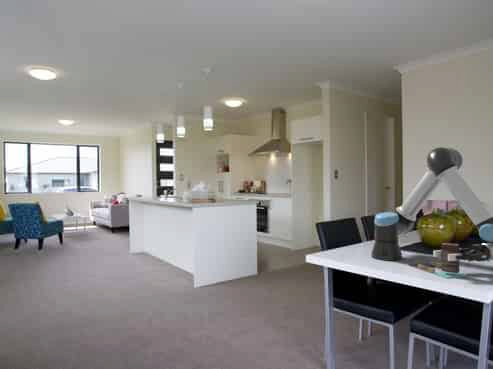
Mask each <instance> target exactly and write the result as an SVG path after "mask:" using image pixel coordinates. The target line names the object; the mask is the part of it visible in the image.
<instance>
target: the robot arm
mask: <svg viewBox="0 0 493 369" xmlns="http://www.w3.org/2000/svg"><path fill="white" fill-rule="evenodd" d="M463 161H464V158H463V155H462V154H461V152H459V151H458V150H457V149H454V148H453V147H452V148H451V147H444V146H440V147H435V148H434V149H431V151H429V153H428V154H427V157H426V163H427V165H426V172H425V173H424V175H423V176H422V178H421V179H420V180H419V181H418V183H417V185H416V186H415V187H414V188H413V190H412V191H411V193H410V194H409V195H408V197H406V199H405V200H404V202H403V203H402V204H401V206H397V207H395V209H394V210H393V212H389V211H388V212H387V211H386V212H380V213H377V214H375V216H374V221H373V222H374V243H373V247H372V249H371V258H373V259H376V260H381V261H401V260H402V259H403V252H402V250H401V247H400V245H399V236H401V235H406V234H408V233H409V232H411V231H412V230H413V228H414V224H415V222H416V221H417V217H416V216H417V214H418V213H419V212H420V210H422V208H423V206H424V205H425V204H426V203H427V201H428V200H429V199H430V198H431V197H432V195H433V194H434V192H435V191H436V190H437V189H438V187H439V186H440V185H441V183H444V184H443V185H445V186H446V188H447V189H448V191H449V192H450V193H451V195H452V196H453V198H455V201H456V202H457V203H458V204H459V205H460V207H461V208H462V209H463V211H464V212H465V213H466V214H467V216H468V217H469V219H470V220H471V222H472V223H473V224H474V226H475V227H476V228H477V230H478V235H479V238H481V239H482V240H483V241H485V242H487V243H477V244H476V243H475V244H472V245H471V246H470V247H465V248H462V247H460V246H459V253H458V254H448V261H457V260H459V261H462V260H463V261H467V262H487V263H488V262H490V261H493V215H492V213H491V212H490V211H489V210H488V209H487V207H486V206H485V205H484V203H483V202H482V201H481V199H480V198H479V197H478V196H477V194H476V193H475V192H474V190H473V189H472V188H471V186H470V185H469V184H468V183H467V182H466V179H464V178H463V176H462V175H461V174H460V173H459V171H458V170H459V169H460V168H461V167H463V166H462V165H463V163H464V162H463ZM432 254H433V256H432V257H434V258H440V257H441V258H442V249H440V250H439V249H438V250H433V252H432Z"/></svg>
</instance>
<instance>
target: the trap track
mask: <svg viewBox="0 0 493 369" xmlns="http://www.w3.org/2000/svg"><path fill="white" fill-rule="evenodd" d="M408 266H409V267H413V268H415V269H419V270H421V271H424V272H427V273H430V274H433V273H435V271H436V269H435V268H438V269H441V270H442V262H441V263H440V262H435V264H433V263H429V262H422V263H413V264H412V263H411V264H408Z"/></svg>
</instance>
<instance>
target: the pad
mask: <svg viewBox="0 0 493 369" xmlns="http://www.w3.org/2000/svg"><path fill="white" fill-rule="evenodd" d="M432 274H433V275H436V276H438V277H442V278H444V279H453V278H463V277H469V275H468V274H465V273H461V272H460V271H459V272H458V273H452V272H445V271H440V272H439V271H436V272H435V273H432Z"/></svg>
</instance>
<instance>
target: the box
mask: <svg viewBox="0 0 493 369" xmlns="http://www.w3.org/2000/svg"><path fill="white" fill-rule="evenodd" d="M459 247H460V244H459V243H449V242H448V243H447V242H443V243H442V244H441V250H442V257H441V264H442V269H441V272H452V273H458V272H459V273H460V260H457V261H448V254H458V253H459Z"/></svg>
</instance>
